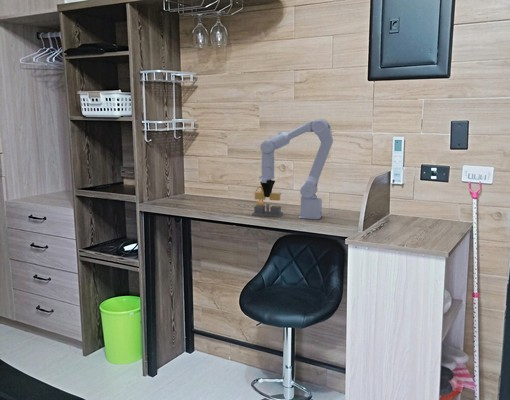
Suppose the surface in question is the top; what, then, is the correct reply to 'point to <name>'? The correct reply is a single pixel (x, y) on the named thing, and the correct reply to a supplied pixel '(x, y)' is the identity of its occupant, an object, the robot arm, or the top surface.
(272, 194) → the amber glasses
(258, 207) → the display stand
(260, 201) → the figurine
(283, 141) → the robot arm
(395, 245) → the top surface
